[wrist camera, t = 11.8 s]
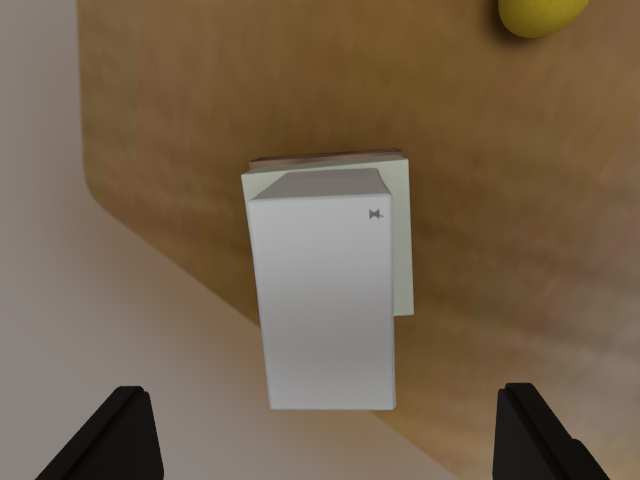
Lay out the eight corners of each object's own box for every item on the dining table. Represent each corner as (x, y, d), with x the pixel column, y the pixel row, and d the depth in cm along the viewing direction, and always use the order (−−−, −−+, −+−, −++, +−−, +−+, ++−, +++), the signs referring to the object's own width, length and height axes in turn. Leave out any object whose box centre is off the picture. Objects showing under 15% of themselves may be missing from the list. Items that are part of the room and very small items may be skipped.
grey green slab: (397, 154, 31) (407, 159, 26) (403, 288, 34) (413, 314, 29) (255, 167, 32) (241, 174, 27) (273, 297, 34) (262, 324, 30)
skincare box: (279, 172, 27) (241, 198, 16) (378, 166, 26) (400, 190, 16) (292, 316, 29) (265, 415, 19) (381, 314, 29) (402, 413, 19)
